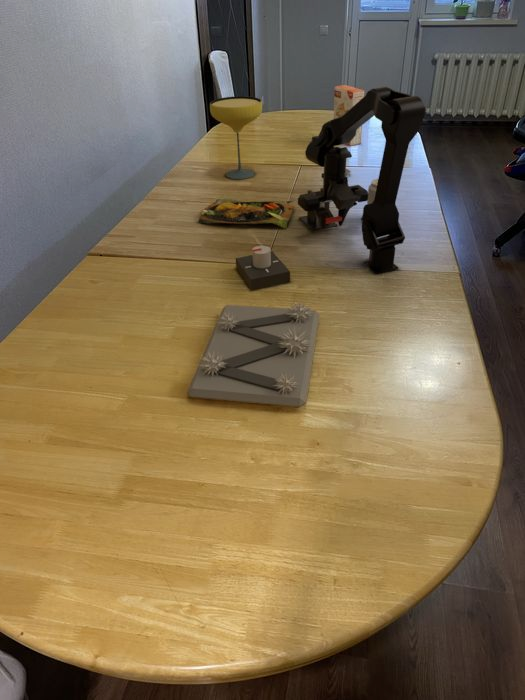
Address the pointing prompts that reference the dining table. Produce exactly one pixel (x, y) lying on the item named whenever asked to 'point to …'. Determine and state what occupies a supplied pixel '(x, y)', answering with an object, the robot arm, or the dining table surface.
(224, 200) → the prepared meal
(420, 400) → the dining table surface
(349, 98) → the cracker box
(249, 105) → the cocktail glass
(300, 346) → the decorative plate
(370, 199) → the can
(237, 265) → the dial panel
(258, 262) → the knob
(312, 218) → the dark grey lever stand
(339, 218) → the toast lever
